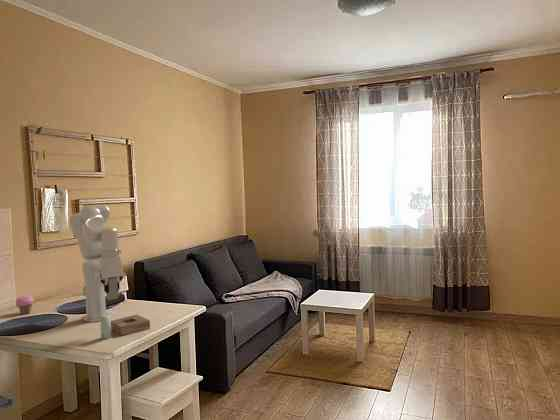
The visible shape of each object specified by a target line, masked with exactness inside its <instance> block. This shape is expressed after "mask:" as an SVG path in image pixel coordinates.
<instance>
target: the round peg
mask: <svg viewBox="0 0 560 420" xmlns="http://www.w3.org/2000/svg"><path fill="white" fill-rule="evenodd" d="M111 317H112V316H111V315H110V314H109V315H103V316H101V317H100V321H99V323H100V338H101V340H108V339H112V330H111V321H112V319H111Z"/></svg>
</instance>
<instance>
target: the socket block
mask: <svg viewBox="0 0 560 420" xmlns="http://www.w3.org/2000/svg"><path fill="white" fill-rule="evenodd" d="M149 329H151V320H150V319H147V318H145V317H143V316H141V315H139V314H132V315H130V316H125V317H122V318H116V319H111V332H112V331H113V332H115V333H116V334H118V335H119V336H121V337H122V336H127V335H130V334H134V333H138V332H141V331H145V330H149Z"/></svg>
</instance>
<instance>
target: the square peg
mask: <svg viewBox="0 0 560 420" xmlns="http://www.w3.org/2000/svg"><path fill="white" fill-rule="evenodd" d="M108 287H109V293H106V292H105V297H106V299H109V300H112V299H117V298H118V295H119V291H118V286H117V277H114V278H108Z"/></svg>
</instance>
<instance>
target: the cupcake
mask: <svg viewBox="0 0 560 420" xmlns="http://www.w3.org/2000/svg"><path fill="white" fill-rule="evenodd" d="M34 302H35V300H34V298H33V297H32V296H31V295H22V296H19V297H18V298H17V299H16V300H15V305H16V306H17V307H18V310H19V313H20V314H21V315H24V314H27V313H28V314H30V312H31V311H32V307H33V304H34Z"/></svg>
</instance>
